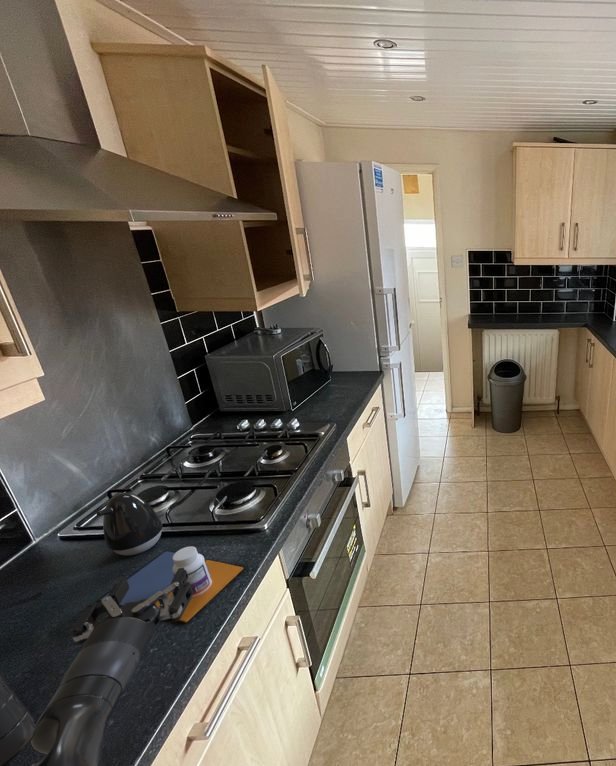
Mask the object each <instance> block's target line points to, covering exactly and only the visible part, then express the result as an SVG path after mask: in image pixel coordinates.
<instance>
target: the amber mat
mask: <svg viewBox="0 0 616 766" xmlns="http://www.w3.org/2000/svg"><path fill="white" fill-rule="evenodd" d="M205 562H206V565H207V568H208V570H209V573H210V576H211V579H212V584H211V586H210V587H209V589H208V590H207V591H205V592H204V593H202V594H201V595H198V596H196V597H192V598H191V600H190V602H189V604H188V605H187V607H186V609H185V611H184V613H183V615H182V617H181V619H180V620H179V621H178V622H182V623H188V622H189V621H190V620H191V619H192V618H193V617H195V615H196V614H197V613H199V612H200V611H201V610H202V609H203V608H204V607H205V606H206V605H207V604H209V602H210V601H211V600H212V599H213V598H215V597H216V596H217V595H218V594H219V593H220V592H221V591H222V590H223V589H224V588H225V587H226V586H227V585H228V584H229V583H230V582H231V581H233V579H234V578H236V577H237V576H238V575H239V574H240V573H241V572H242V571H243V570H244V567H243V566H239V565H233V564H229V563H224V562H219V561H216V560H215V561H214V560H211V559H205ZM172 594H173V593H172V592H171V593H170V594H169V595H168V596H167V598H168V597H169V596H171V595H172ZM155 604H156V606H157V607H159V606H160V603H159V600H157V601H156V602H155Z"/></svg>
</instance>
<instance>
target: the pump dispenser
mask: <svg viewBox="0 0 616 766" xmlns="http://www.w3.org/2000/svg"><path fill="white" fill-rule="evenodd" d="M95 514H96V516H97V517H101V516H102V517H103V519H102V527H103V528H102V529H103V537H104V541H105V544H106V547H107V548H108V549H109V550H111V551H113V553H116V554H118V555H120V556H134V555H138V554H142V553H144V552H146V551H148V550H149V549H152V547H154V546H155V545H156V544H157V543H158V541H159V540H160V538H161V536H162V531H163V522H162V520H161V518H160V516H159V515H158V513H157V512H156V510H154V508H153V507H152V506H151V505H150V504H149V503H148V502H147V501H146V500H144V499H143V498H142V497H140V496H139V495H137V494H135V493H131V492H121V493H117V494H115V495H114V496H112V497H111V498H110V499H109V500H108V501H107V503H106V505H105V508H104V509H101V510H98V511H97V512H96V513H95Z"/></svg>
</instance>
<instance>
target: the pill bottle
mask: <svg viewBox="0 0 616 766" xmlns="http://www.w3.org/2000/svg"><path fill="white" fill-rule="evenodd" d="M174 553H175V554H174V555H173V561H174V563H175V564H174V566H173V569H172V570H173V573H174V576H175V574H176V572H177V570H178V569H179V568H184V570H186V571H187V574H188V579H187V581H186V582H189V583H190V585H191V588H192V591H193V596H192V597H196V596H198V595H201V594H202V593H204V592H205V591H207V590H208V589H209V587H210V586H211V584H212V579H211V576H210V573H209V570H208V568H207V565H206V562H205V561H206V558H205V557H204V555H203V554H201V553H199V552H198V550H197V548H196V547H195V546H192V545H190V546H186V547H182V548H180V549H178V550H177V551H176V552H174Z"/></svg>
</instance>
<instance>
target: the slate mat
mask: <svg viewBox="0 0 616 766" xmlns="http://www.w3.org/2000/svg"><path fill="white" fill-rule="evenodd" d="M175 553H176V552H172V551H167V550H166V551H164V552H163V553H161V554H160V555H159V556H158V557H156V558H155V559H152V561H150V562H149V563H147V564H146V565H145V566H144V567H143V568H141V569H139V571H137V572H135V573H134V574H133V575H132V576H130V577H129V578H128V579H126V580H127V582H128V584H129V590H128V591H127V593H126V595H125V596H124V598H123V600H122V601H121V603H120V604H119V605H118V607H121V606H123V605H125V603H130V602H137V601H140V600H143V599H148V598H150V597H151V596H152V595H154V594H155V593H156V592H158V591H163V590H164V589H166V588H167V587H168V586H170V585H171V582H172V580H173V578H174V573H173V570H172V569H173V566H174V564H175V563H174V561H173V555H174V554H175ZM108 595H109V593H107V594H106V595H105V596H103V597H102V598H100V602H101V601H102V600H103V599H104V598H106V597H107V596H108Z"/></svg>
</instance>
